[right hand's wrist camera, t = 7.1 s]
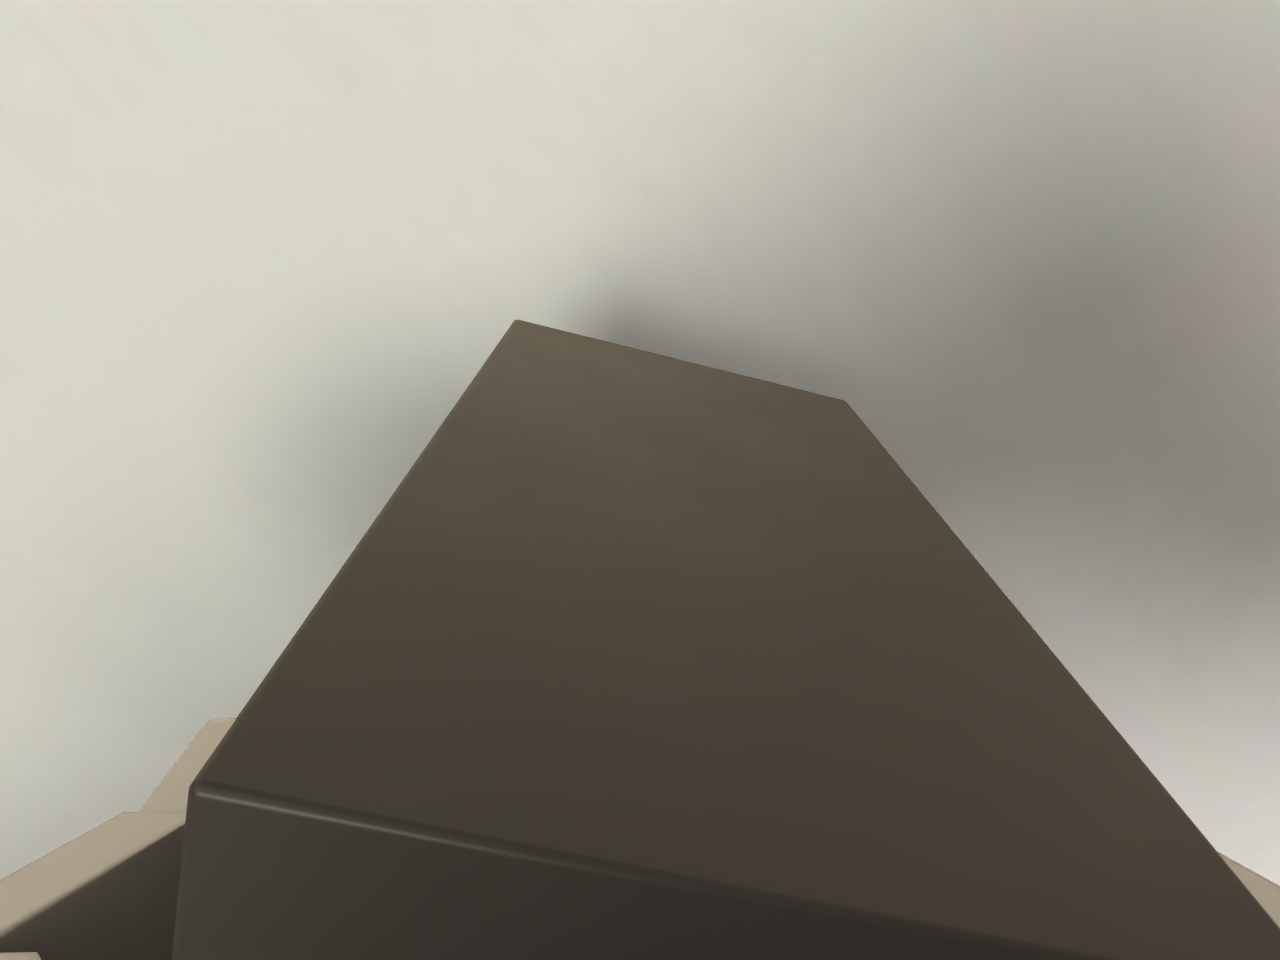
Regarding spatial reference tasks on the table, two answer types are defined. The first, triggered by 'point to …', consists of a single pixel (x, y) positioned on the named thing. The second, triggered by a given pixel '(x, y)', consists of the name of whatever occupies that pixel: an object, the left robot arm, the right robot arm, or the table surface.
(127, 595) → the table surface
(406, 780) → the box
